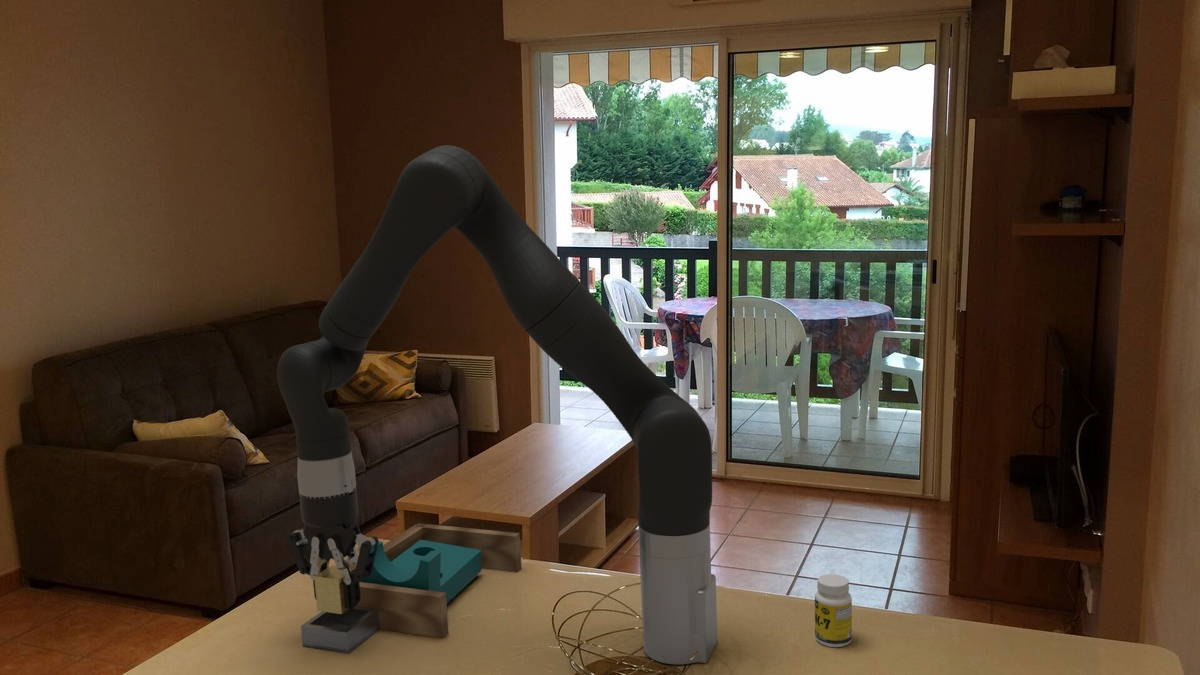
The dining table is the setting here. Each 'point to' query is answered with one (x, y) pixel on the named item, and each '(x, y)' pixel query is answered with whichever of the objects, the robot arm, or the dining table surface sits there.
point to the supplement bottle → (833, 611)
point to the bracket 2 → (429, 607)
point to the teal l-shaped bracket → (427, 568)
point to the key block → (330, 591)
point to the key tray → (340, 629)
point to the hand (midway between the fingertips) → (338, 604)
